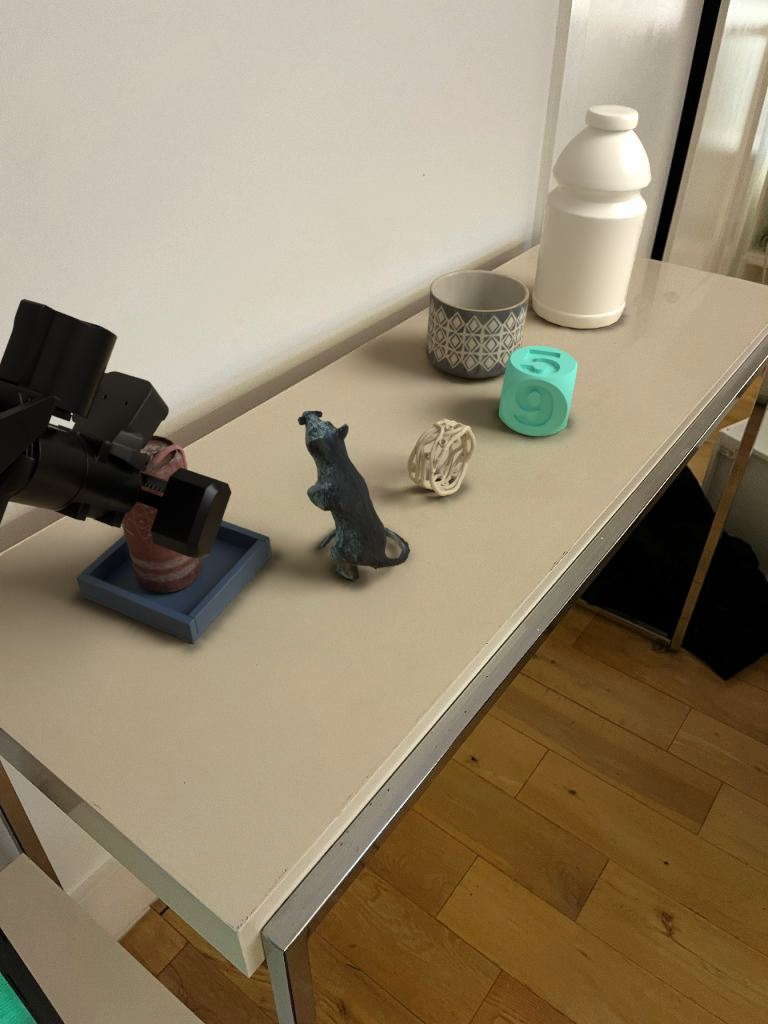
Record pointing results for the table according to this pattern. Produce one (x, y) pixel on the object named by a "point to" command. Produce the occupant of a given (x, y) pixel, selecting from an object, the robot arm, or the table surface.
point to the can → (149, 560)
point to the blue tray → (191, 607)
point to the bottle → (593, 222)
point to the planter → (475, 322)
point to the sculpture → (346, 502)
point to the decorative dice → (537, 390)
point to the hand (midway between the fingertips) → (175, 502)
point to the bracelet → (455, 433)
